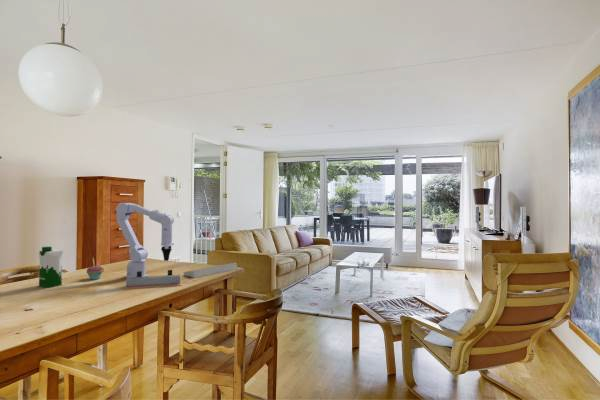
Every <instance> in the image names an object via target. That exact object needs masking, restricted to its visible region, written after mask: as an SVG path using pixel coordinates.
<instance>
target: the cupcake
mask: <svg viewBox="0 0 600 400" xmlns="http://www.w3.org/2000/svg"><path fill="white" fill-rule="evenodd" d="M92 264H93V265H92V266H90V267H88V268H87V269H86V271H85V272H86V274H87V275H88V277H89V279H90V280H99V279H100V278H101V275H102V273H104V272H105V269H104V267H102V266H101V265H95V258H94V257H92Z"/></svg>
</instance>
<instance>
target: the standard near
mask: <svg viewBox="0 0 600 400" xmlns="http://www.w3.org/2000/svg"><path fill="white" fill-rule="evenodd" d="M137 277H142V271H137Z"/></svg>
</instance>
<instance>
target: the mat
mask: <svg viewBox="0 0 600 400" xmlns="http://www.w3.org/2000/svg"><path fill="white" fill-rule="evenodd" d="M179 286H182V281H181V280H180V284H170V285H154V286H138V287H126V286H125V287H124V290H133V289H150V288H165V287H166V288H167V287H179Z"/></svg>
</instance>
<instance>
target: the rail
mask: <svg viewBox="0 0 600 400" xmlns="http://www.w3.org/2000/svg"><path fill="white" fill-rule="evenodd" d="M167 275H168V274H167ZM167 275H154V276H153V275H151V276H150V275H148V276H145V277H131V278H129V277H126V279H125V281H126V283H125V284H126V285H125V287H138V286H154V285H170V284H180V281H181V274H172V275H168V276H167Z"/></svg>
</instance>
